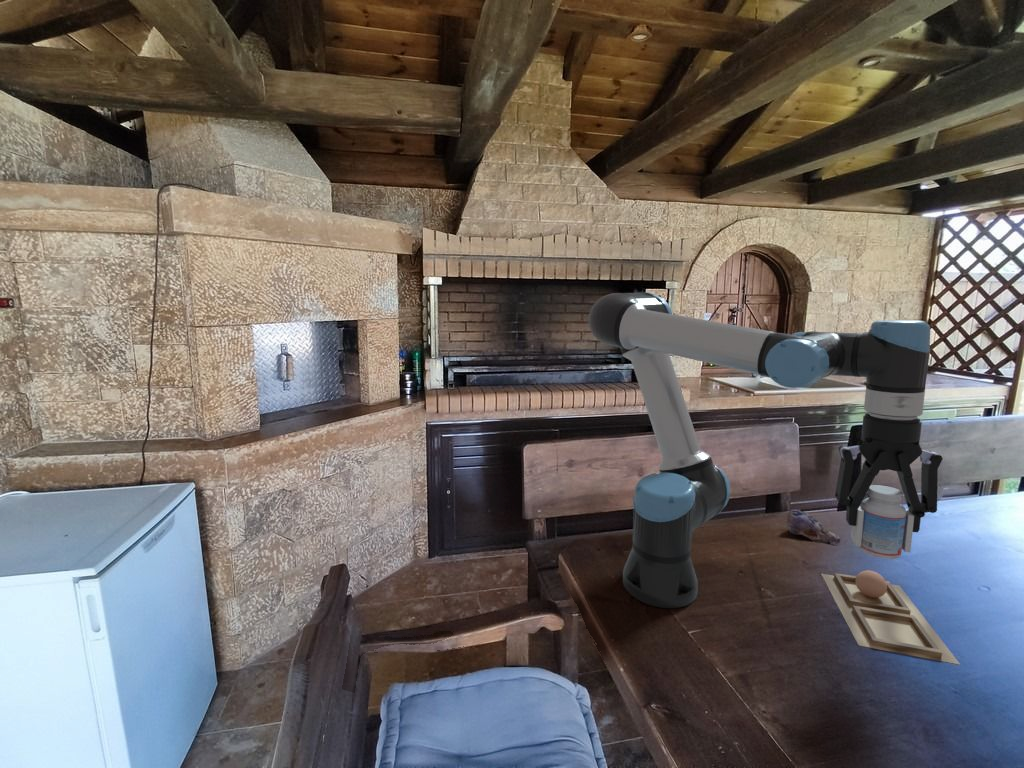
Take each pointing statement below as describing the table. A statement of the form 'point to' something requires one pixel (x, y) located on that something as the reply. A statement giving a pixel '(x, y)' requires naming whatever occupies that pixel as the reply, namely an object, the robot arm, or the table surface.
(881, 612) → the tray
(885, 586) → the egg
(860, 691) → the table surface
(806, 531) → the skull
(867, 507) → the pill bottle
